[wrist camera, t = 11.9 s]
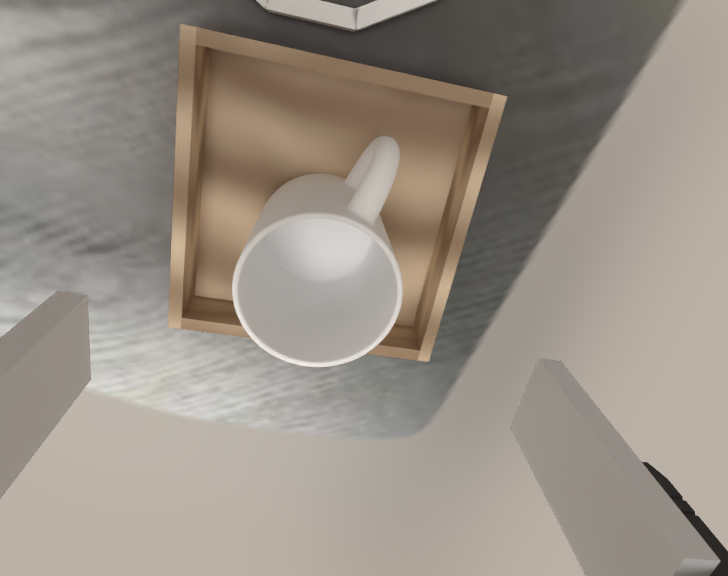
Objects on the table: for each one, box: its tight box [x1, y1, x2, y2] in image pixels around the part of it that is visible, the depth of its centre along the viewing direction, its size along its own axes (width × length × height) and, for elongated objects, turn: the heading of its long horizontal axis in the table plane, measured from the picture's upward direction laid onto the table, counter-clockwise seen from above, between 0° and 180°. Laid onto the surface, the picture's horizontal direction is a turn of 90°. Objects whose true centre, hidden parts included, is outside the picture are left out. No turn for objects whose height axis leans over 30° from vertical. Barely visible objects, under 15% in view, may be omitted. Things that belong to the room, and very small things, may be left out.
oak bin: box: [168, 24, 507, 362], centre depth 30 cm, size 18×18×4 cm
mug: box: [232, 136, 403, 367], centre depth 27 cm, size 12×8×10 cm
